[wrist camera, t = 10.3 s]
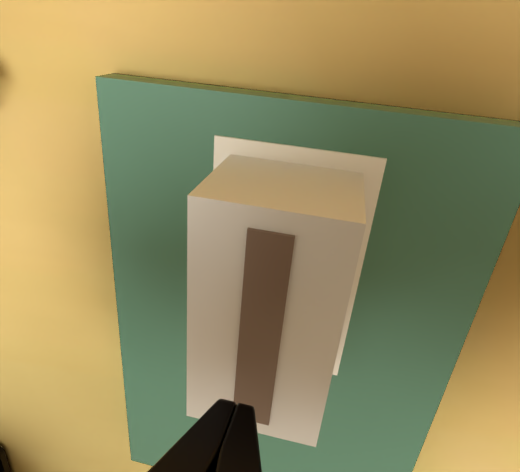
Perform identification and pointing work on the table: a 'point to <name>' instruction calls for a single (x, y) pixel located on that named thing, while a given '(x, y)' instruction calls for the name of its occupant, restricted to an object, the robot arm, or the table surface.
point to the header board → (368, 267)
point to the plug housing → (270, 288)
